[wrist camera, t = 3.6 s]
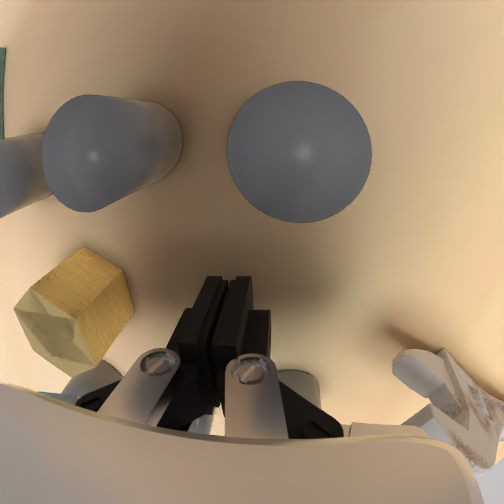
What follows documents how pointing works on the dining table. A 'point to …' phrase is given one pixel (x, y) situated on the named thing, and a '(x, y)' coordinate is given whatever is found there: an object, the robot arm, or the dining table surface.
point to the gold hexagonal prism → (76, 312)
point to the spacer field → (168, 153)
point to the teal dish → (1, 89)
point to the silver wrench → (453, 406)
